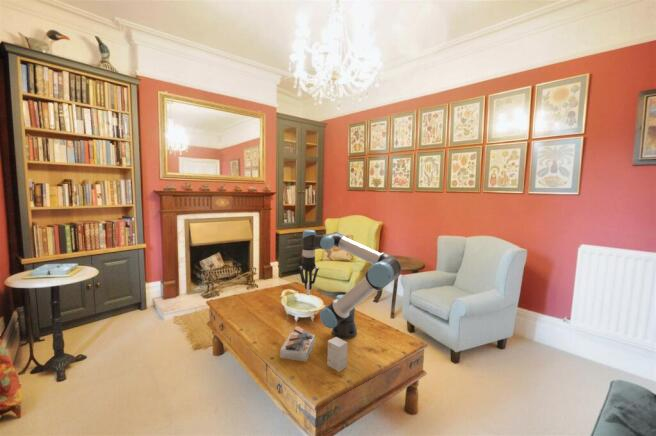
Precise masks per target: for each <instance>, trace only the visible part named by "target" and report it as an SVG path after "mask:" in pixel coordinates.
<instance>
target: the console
mask: <svg viewBox="0 0 656 436" xmlns="http://www.w3.org/2000/svg"><path fill="white" fill-rule="evenodd" d="M297 334H299V333H297V332H295V331H291V332H290V333H289V335H288V337H287V338H286V339H285V341H284V343H283V345H282V346H281V347H280V350H279V351H280V353H279V354H280V359H285V360H292V361H300V362H307V361H308V359H309V357H310V354H311V352H312V350H313V348H314V346H315V343H316V342H315V341H316V335H315V334H312V333H311V334H310V336H309V338H305V339H303V342H302V344H299V345H296V347H295V348H293V347H289V348H286V347H285V346H286V344H287V343H288V342H290V341H289V338H290V337H291V335H297Z"/></svg>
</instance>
